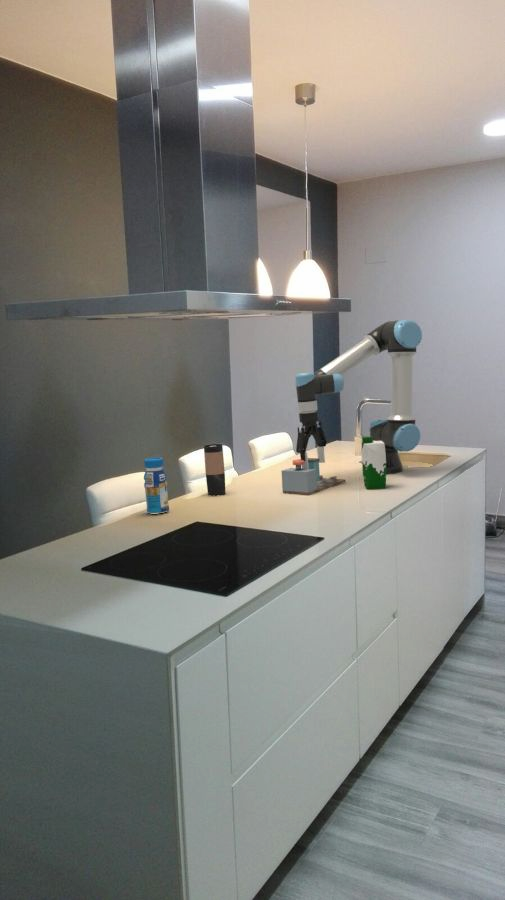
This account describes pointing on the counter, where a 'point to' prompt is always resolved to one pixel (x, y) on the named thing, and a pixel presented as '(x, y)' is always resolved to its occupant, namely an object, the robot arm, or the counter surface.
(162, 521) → the counter surface
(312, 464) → the carriage
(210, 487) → the travel mug
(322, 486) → the rail track
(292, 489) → the cabinet
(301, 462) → the button
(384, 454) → the milk carton
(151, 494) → the beverage bottle
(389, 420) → the robot arm
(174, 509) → the counter surface
